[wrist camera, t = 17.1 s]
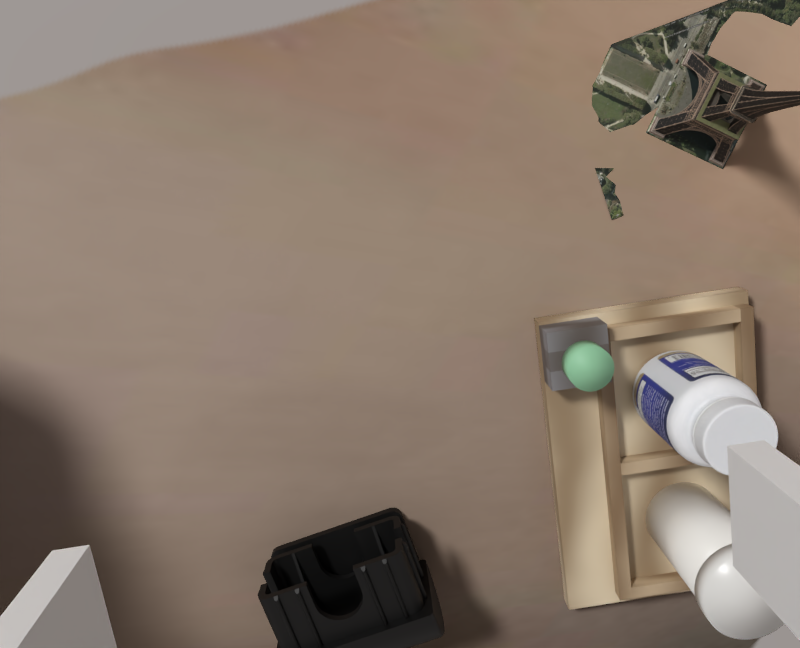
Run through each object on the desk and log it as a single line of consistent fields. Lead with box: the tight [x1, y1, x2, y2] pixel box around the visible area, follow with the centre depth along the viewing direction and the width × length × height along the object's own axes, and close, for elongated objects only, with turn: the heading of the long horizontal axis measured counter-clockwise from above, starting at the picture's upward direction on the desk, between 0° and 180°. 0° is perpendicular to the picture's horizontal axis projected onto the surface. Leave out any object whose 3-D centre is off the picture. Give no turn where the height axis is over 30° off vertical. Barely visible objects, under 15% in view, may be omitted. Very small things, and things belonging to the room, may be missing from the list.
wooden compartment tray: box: [534, 287, 757, 610], centre depth 48 cm, size 13×20×3 cm, turn 8°
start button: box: [562, 340, 614, 392], centre depth 44 cm, size 3×3×4 cm
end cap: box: [258, 508, 444, 648], centre depth 47 cm, size 10×7×7 cm
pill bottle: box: [632, 350, 778, 476], centre depth 43 cm, size 5×5×9 cm
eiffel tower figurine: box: [592, 0, 800, 219], centre depth 39 cm, size 15×10×13 cm
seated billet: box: [646, 482, 784, 640], centre depth 45 cm, size 5×5×9 cm
